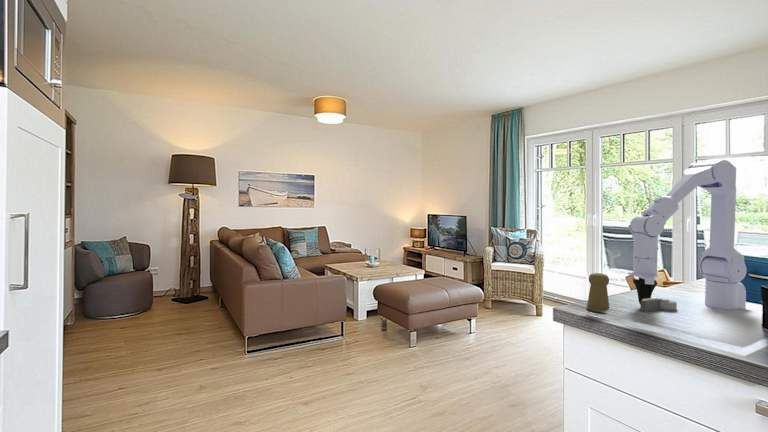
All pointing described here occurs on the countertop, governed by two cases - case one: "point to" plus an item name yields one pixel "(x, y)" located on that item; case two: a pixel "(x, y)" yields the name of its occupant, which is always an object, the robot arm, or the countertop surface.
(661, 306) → the peg dial
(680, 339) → the countertop surface
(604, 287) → the cork
